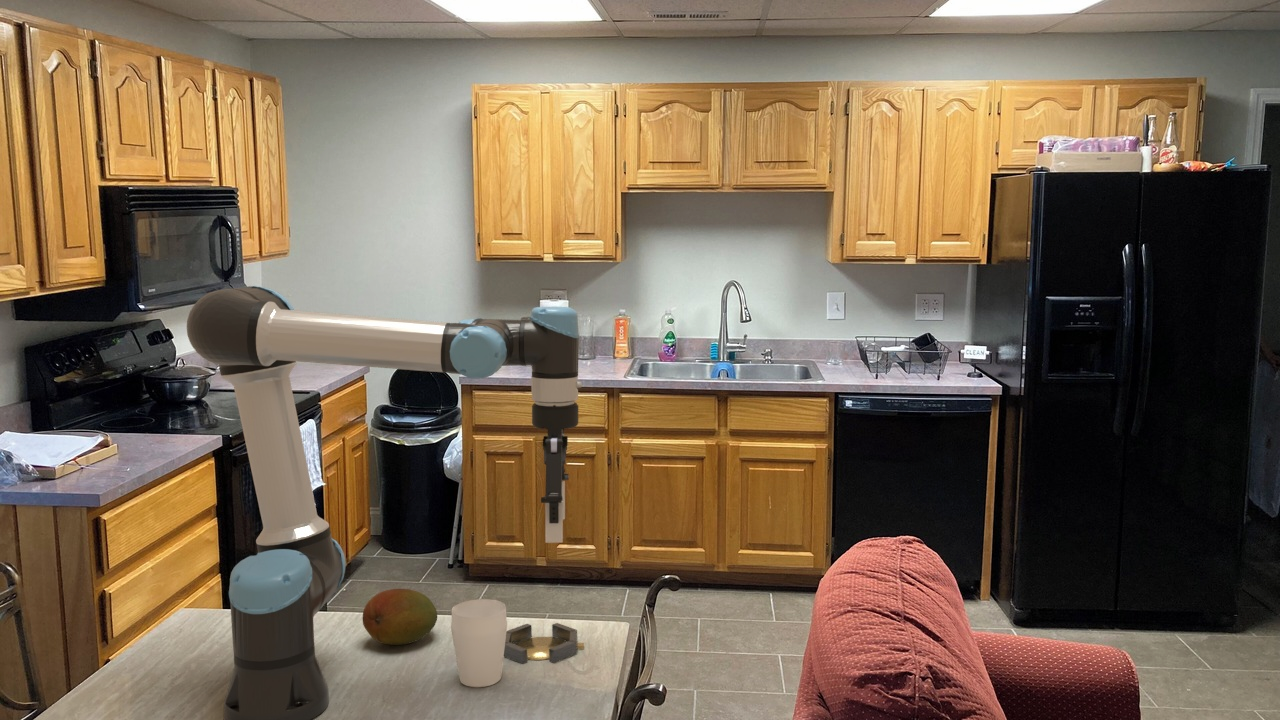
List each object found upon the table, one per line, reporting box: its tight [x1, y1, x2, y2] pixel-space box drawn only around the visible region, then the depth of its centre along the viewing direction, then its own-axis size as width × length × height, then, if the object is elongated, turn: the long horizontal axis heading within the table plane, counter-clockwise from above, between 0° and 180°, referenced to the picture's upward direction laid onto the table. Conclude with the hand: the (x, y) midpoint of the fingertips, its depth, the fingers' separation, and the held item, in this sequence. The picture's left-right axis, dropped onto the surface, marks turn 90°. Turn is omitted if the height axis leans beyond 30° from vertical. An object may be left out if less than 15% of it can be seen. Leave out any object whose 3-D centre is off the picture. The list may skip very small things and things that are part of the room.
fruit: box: [362, 588, 438, 646], centre depth 181 cm, size 12×13×10 cm
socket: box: [503, 622, 585, 665], centre depth 177 cm, size 15×13×2 cm
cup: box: [450, 598, 508, 688], centre depth 165 cm, size 9×9×12 cm
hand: (555, 530), depth 166 cm, fingers open, 13 cm apart
